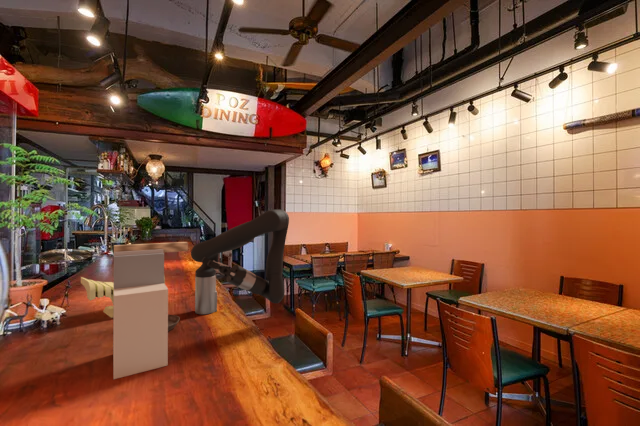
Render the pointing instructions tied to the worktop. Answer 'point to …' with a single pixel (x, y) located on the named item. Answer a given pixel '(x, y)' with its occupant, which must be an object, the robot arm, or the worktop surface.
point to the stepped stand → (139, 312)
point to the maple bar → (153, 247)
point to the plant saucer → (172, 321)
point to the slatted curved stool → (100, 292)
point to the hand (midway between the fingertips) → (205, 260)
